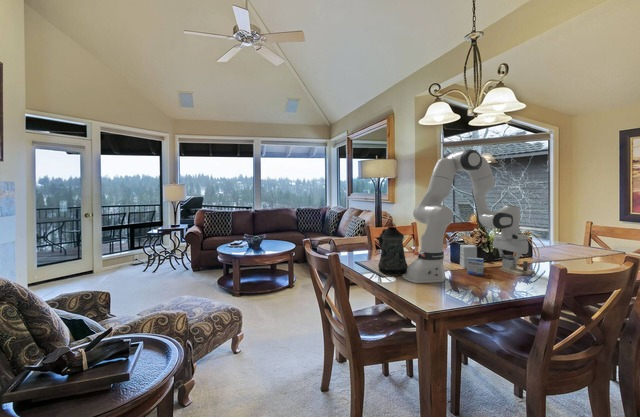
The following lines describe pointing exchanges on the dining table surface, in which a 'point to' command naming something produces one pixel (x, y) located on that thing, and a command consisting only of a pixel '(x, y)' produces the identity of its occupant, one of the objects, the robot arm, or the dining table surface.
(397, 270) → the black tall carved piece
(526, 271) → the pinboard
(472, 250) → the supplement box
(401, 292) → the dining table surface
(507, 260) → the sleeve
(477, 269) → the medicine box
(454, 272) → the dining table surface
